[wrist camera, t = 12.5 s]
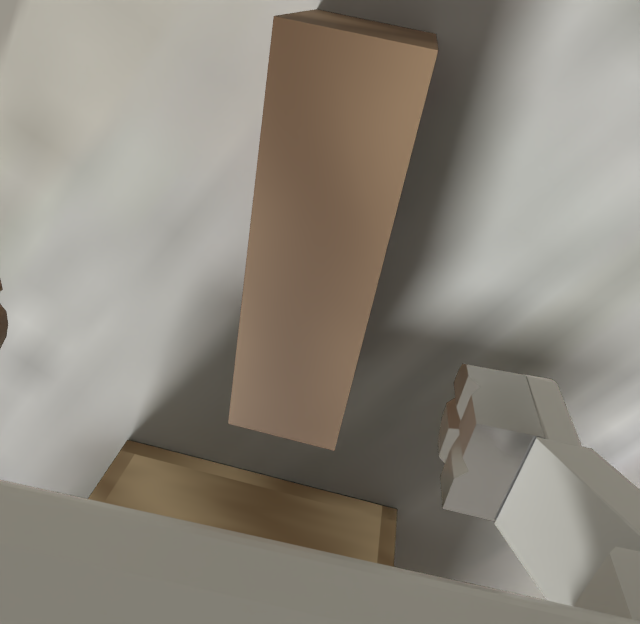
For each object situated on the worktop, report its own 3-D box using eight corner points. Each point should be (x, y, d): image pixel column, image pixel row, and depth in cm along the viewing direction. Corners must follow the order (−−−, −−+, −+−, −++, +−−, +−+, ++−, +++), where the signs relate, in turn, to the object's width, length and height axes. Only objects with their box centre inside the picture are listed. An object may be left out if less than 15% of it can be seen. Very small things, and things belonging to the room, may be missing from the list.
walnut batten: (436, 33, 14) (437, 50, 10) (354, 356, 19) (334, 450, 15) (317, 9, 14) (273, 16, 10) (269, 336, 19) (228, 423, 15)
